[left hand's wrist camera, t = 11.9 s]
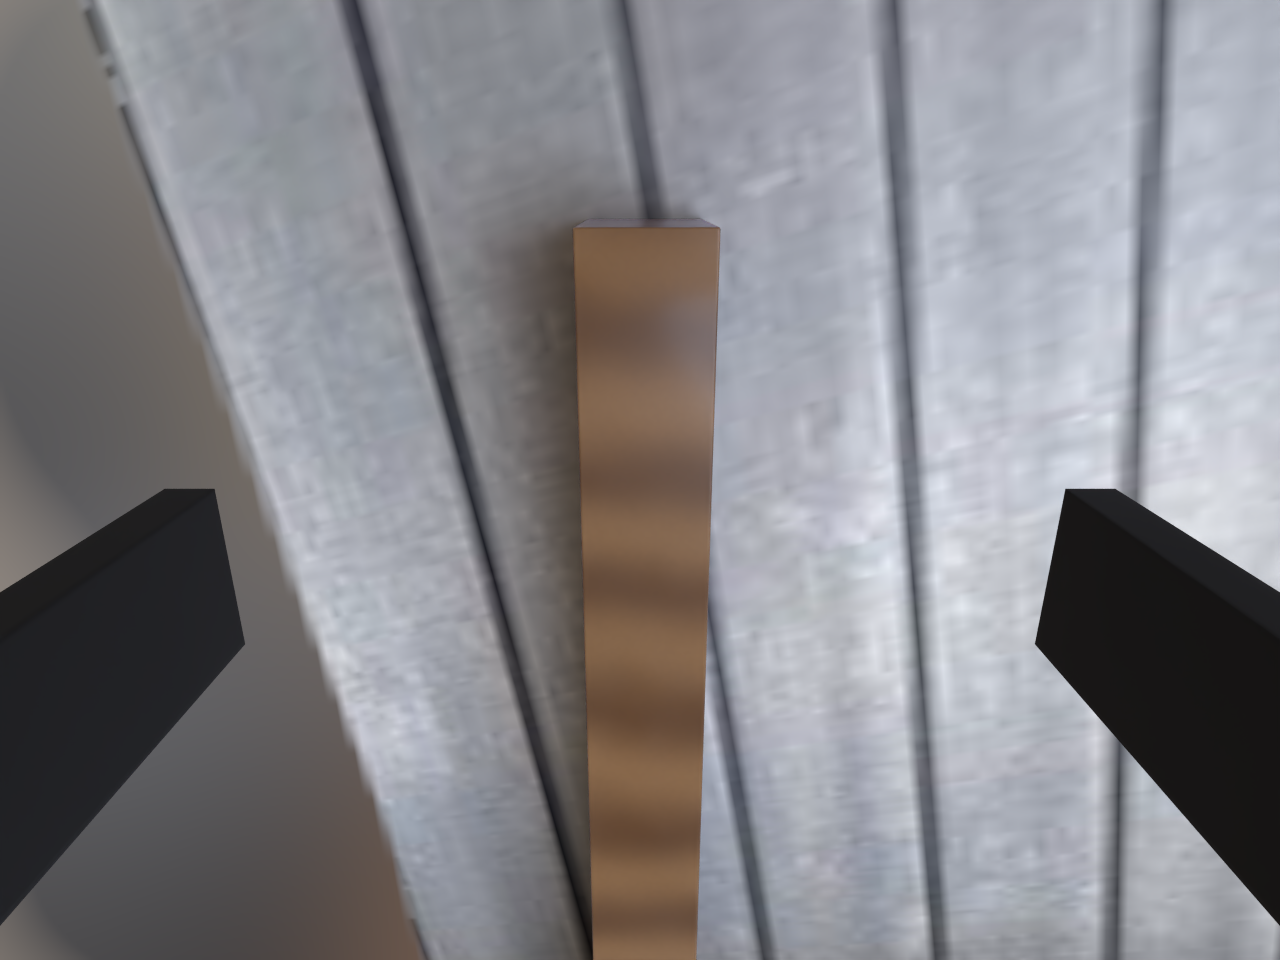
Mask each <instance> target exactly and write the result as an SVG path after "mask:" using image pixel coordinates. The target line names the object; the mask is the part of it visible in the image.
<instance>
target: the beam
mask: <svg viewBox="0 0 1280 960" xmlns="http://www.w3.org/2000/svg"><path fill="white" fill-rule="evenodd" d="M719 256H720V228H719V227H717V226H715V225H713V224H711V223H709V222H707V221H705V220H703V219H588V220H586V221H584V222H582V223H581V224H579V225H577V226H576V227H574V228H573V257H574V293H575V329H576V364H577V400H578V436H579V471H580V507H581V543H582V579H583V614H584V650H585V686H586V721H587V757H588V793H589V828H590V864H591V900H592V935H593V960H696V950H697V920H698V889H699V859H700V829H701V799H702V769H703V738H704V708H705V678H706V648H707V618H708V588H709V557H710V527H711V497H712V467H713V437H714V407H715V376H716V346H717V316H718V286H719Z"/></svg>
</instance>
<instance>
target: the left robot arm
mask: <svg viewBox="0 0 1280 960" xmlns="http://www.w3.org/2000/svg"><path fill="white" fill-rule="evenodd" d="M244 645H245V641H244V636H243V631H242V626H241V621H240V616H239V611H238V606H237V601H236V596H235V591H234V586H233V581H232V575H231V570H230V565H229V560H228V555H227V550H226V545H225V540H224V535H223V530H222V525H221V520H220V514H219V510H218V504H217V499H216V494H215V489H164V490H162V491H161V492H159V493H158V494H156V495H154V496H153V497H151V498H150V499H148V500H146V501H145V502H143V503H142V504H140V505H138V506H137V507H135V508H134V509H132V510H130V511H129V512H127V513H126V514H124V515H123V516H121V517H119V518H118V519H116V520H115V521H113V522H111V523H110V524H108V525H107V526H105V527H103V528H102V529H100V530H99V531H97V532H95V533H94V534H92V535H91V536H89V537H88V538H86V539H84V540H83V541H81V542H80V543H78V544H76V545H75V546H73V547H72V548H70V549H69V550H67V551H65V552H64V553H62V554H61V555H59V556H57V557H56V558H54V559H53V560H51V561H49V562H48V563H46V564H45V565H43V566H41V567H40V568H38V569H37V570H35V571H33V572H32V573H30V574H29V575H27V576H26V577H24V578H22V579H21V580H19V581H18V582H16V583H14V584H13V585H11V586H10V587H8V588H6V589H5V590H3V591H2V592H0V925H1V924H2V923H3V922H4V921H5V919H6V918H7V917H8V916H9V915H10V914H11V913H12V911H13V910H14V909H15V908H16V907H17V906H18V905H19V903H20V902H21V901H22V900H23V899H24V898H25V896H26V895H27V894H28V893H29V892H30V891H31V890H32V888H33V887H34V886H35V885H36V884H37V883H38V881H39V880H40V879H41V878H42V877H43V876H44V875H45V874H46V872H47V871H48V870H49V869H50V868H51V867H52V865H53V864H54V863H55V862H56V861H57V860H58V858H59V857H60V856H61V855H62V854H63V853H64V852H65V850H66V849H67V848H68V847H69V846H70V845H71V844H72V842H73V841H74V840H75V839H76V838H77V837H78V836H79V834H80V833H81V832H82V831H83V830H84V829H85V827H86V826H87V825H88V824H89V823H90V822H91V821H92V819H93V818H94V817H95V816H96V815H97V814H98V813H99V811H100V810H101V809H102V808H103V807H104V806H105V805H106V803H107V802H108V801H109V800H110V799H111V798H112V796H113V795H114V794H115V793H116V792H117V791H118V789H119V788H120V787H121V786H122V785H123V784H124V783H125V782H126V780H127V779H128V778H129V777H130V776H131V775H132V773H133V772H134V771H135V770H136V769H137V768H138V767H139V765H140V764H141V763H142V762H143V761H144V760H145V759H146V757H147V756H148V755H149V754H150V753H151V752H152V750H153V749H154V748H155V747H156V746H157V745H158V744H159V742H160V741H161V740H162V739H163V738H164V737H165V736H166V734H167V733H168V732H169V731H170V730H171V729H172V727H173V726H174V725H175V724H176V723H177V722H178V721H179V719H180V718H181V717H182V716H183V715H184V714H185V713H186V711H187V710H188V709H189V708H190V707H191V706H192V704H193V703H194V702H195V701H196V700H197V699H198V698H199V696H200V695H201V694H202V693H203V692H204V691H205V690H206V688H207V687H208V686H209V685H210V684H211V683H212V681H213V680H214V679H215V678H216V677H217V676H218V675H219V673H220V672H221V671H222V670H223V669H224V668H225V667H226V665H227V664H228V663H229V662H230V661H231V660H232V659H233V657H234V656H235V655H236V654H237V653H238V652H239V650H240V649H241V648H242V647H243V646H244ZM1035 645H1036V646H1037V647H1038V648H1039V649H1040V650H1041V652H1042V653H1043V654H1044V655H1045V656H1046V657H1047V659H1048V660H1049V661H1050V662H1051V663H1052V664H1053V665H1054V667H1055V668H1056V669H1057V670H1058V671H1059V672H1060V673H1061V675H1062V676H1063V677H1064V678H1065V679H1066V680H1067V681H1068V683H1069V684H1070V685H1071V686H1072V687H1073V688H1074V690H1075V691H1076V692H1077V693H1078V694H1079V695H1080V696H1081V698H1082V699H1083V700H1084V701H1085V702H1086V703H1087V704H1088V706H1089V707H1090V708H1091V709H1092V710H1093V711H1094V713H1095V714H1096V715H1097V716H1098V717H1099V718H1100V719H1101V721H1102V722H1103V723H1104V724H1105V725H1106V726H1107V727H1108V729H1109V730H1110V731H1111V732H1112V733H1113V734H1114V736H1115V737H1116V738H1117V739H1118V740H1119V741H1120V742H1121V744H1122V745H1123V746H1124V747H1125V748H1126V749H1127V750H1128V752H1129V753H1130V754H1131V755H1132V756H1133V757H1134V759H1135V760H1136V761H1137V762H1138V763H1139V764H1140V765H1141V767H1142V768H1143V769H1144V770H1145V771H1146V772H1147V773H1148V775H1149V776H1150V777H1151V778H1152V779H1153V780H1154V782H1155V783H1156V784H1157V785H1158V786H1159V787H1160V788H1161V790H1162V791H1163V792H1164V793H1165V794H1166V795H1167V796H1168V798H1169V799H1170V800H1171V801H1172V802H1173V803H1174V805H1175V806H1176V807H1177V808H1178V809H1179V810H1180V811H1181V813H1182V814H1183V815H1184V816H1185V817H1186V818H1187V819H1188V821H1189V822H1190V823H1191V824H1192V825H1193V826H1194V828H1195V829H1196V830H1197V831H1198V832H1199V833H1200V834H1201V836H1202V837H1203V838H1204V839H1205V840H1206V841H1207V842H1208V844H1209V845H1210V846H1211V847H1212V848H1213V849H1214V851H1215V852H1216V853H1217V854H1218V855H1219V856H1220V857H1221V859H1222V860H1223V861H1224V862H1225V863H1226V864H1227V865H1228V867H1229V868H1230V869H1231V870H1232V871H1233V872H1234V874H1235V875H1236V876H1237V877H1238V878H1239V879H1240V880H1241V882H1242V883H1243V884H1244V885H1245V886H1246V887H1247V888H1248V890H1249V891H1250V892H1251V893H1252V894H1253V895H1254V897H1255V898H1256V899H1257V900H1258V901H1259V902H1260V903H1261V905H1262V906H1263V907H1264V908H1265V909H1266V910H1267V911H1268V913H1269V914H1270V915H1271V916H1272V917H1273V918H1274V919H1275V921H1276V922H1277V923H1278V924H1279V925H1280V592H1278V591H1277V590H1275V589H1274V588H1272V587H1270V586H1269V585H1267V584H1266V583H1264V582H1262V581H1261V580H1259V579H1258V578H1256V577H1254V576H1253V575H1251V574H1250V573H1248V572H1247V571H1245V570H1243V569H1242V568H1240V567H1239V566H1237V565H1235V564H1234V563H1232V562H1231V561H1229V560H1227V559H1226V558H1224V557H1223V556H1221V555H1219V554H1218V553H1216V552H1215V551H1213V550H1212V549H1210V548H1208V547H1207V546H1205V545H1204V544H1202V543H1200V542H1199V541H1197V540H1196V539H1194V538H1192V537H1191V536H1189V535H1188V534H1186V533H1185V532H1183V531H1181V530H1180V529H1178V528H1177V527H1175V526H1173V525H1172V524H1170V523H1169V522H1167V521H1165V520H1164V519H1162V518H1161V517H1159V516H1157V515H1156V514H1154V513H1153V512H1151V511H1150V510H1148V509H1146V508H1145V507H1143V506H1142V505H1140V504H1138V503H1137V502H1135V501H1134V500H1132V499H1130V498H1129V497H1127V496H1126V495H1124V494H1123V493H1121V492H1119V491H1118V490H1116V489H1065V494H1064V499H1063V504H1062V509H1061V514H1060V520H1059V525H1058V530H1057V535H1056V540H1055V545H1054V550H1053V555H1052V560H1051V565H1050V570H1049V575H1048V581H1047V586H1046V591H1045V596H1044V601H1043V606H1042V611H1041V616H1040V621H1039V626H1038V631H1037V636H1036V641H1035Z"/></svg>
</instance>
